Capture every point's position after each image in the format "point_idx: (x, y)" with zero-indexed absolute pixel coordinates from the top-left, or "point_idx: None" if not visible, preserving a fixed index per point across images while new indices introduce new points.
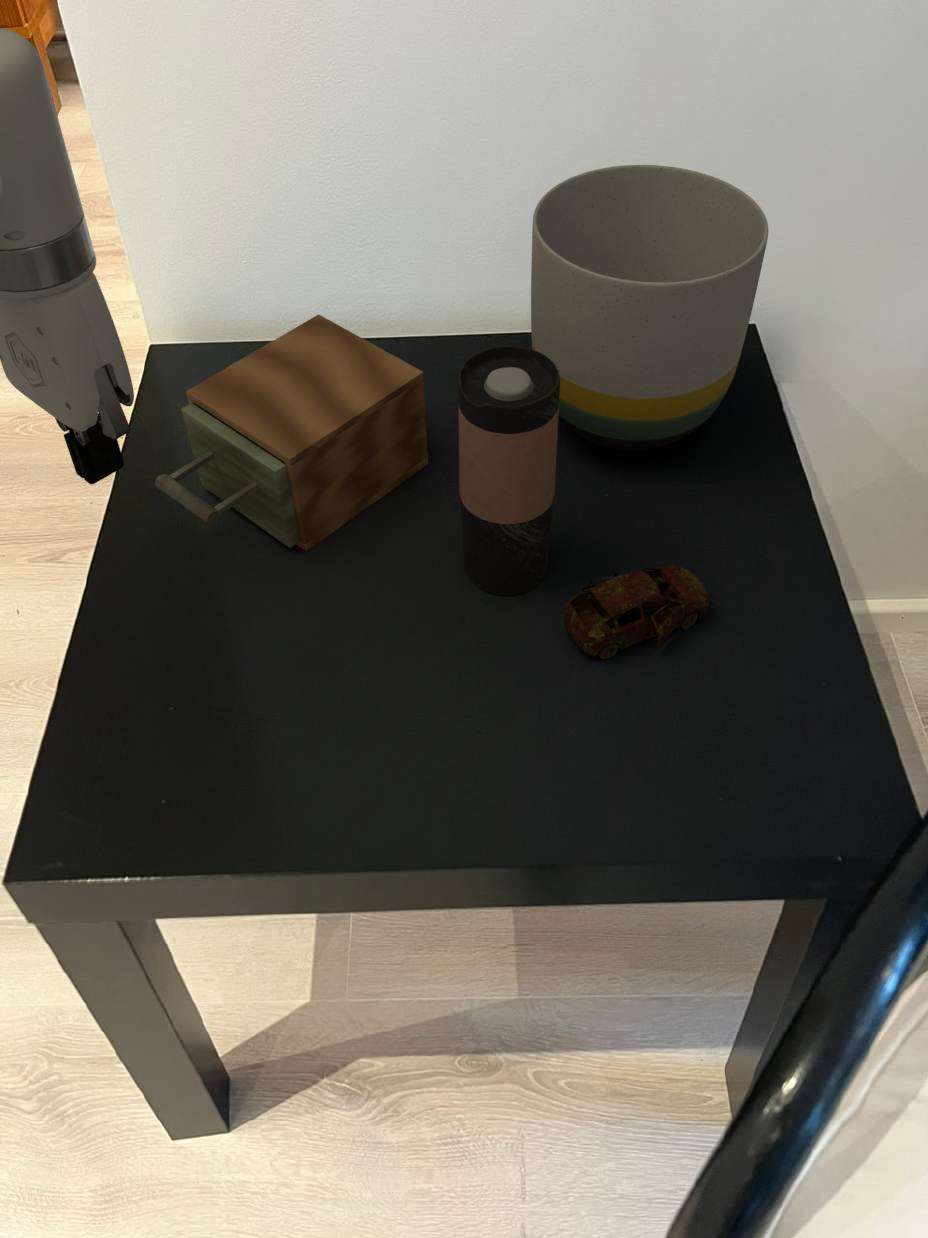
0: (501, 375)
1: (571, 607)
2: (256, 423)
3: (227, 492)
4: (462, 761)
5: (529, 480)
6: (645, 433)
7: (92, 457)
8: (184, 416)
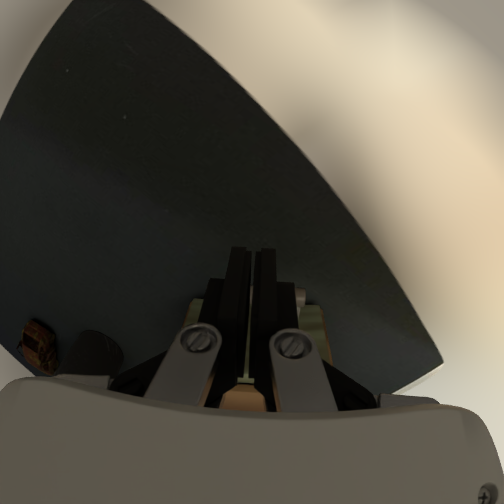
0: None
1: (37, 340)
2: (233, 399)
3: None
4: (7, 233)
5: None
6: None
7: (215, 301)
8: None
